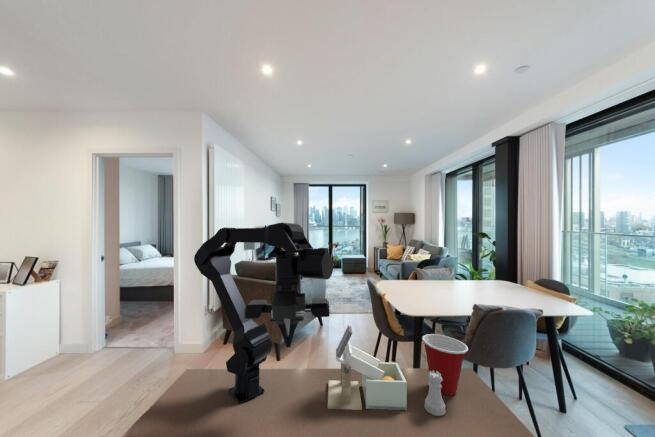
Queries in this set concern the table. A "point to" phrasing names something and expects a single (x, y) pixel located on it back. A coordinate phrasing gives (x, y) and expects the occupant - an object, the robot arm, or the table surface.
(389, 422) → the table surface
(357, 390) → the stand
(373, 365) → the chute
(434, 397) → the rook chess piece
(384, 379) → the ball
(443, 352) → the plastic cup
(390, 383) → the pale green open box
